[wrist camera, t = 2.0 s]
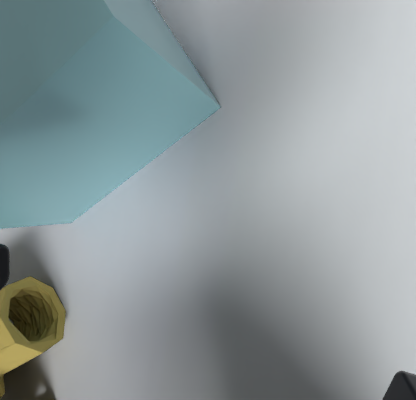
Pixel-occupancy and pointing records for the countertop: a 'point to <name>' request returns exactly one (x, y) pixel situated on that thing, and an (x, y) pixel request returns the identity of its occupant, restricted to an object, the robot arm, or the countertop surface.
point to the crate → (87, 102)
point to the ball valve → (27, 323)
